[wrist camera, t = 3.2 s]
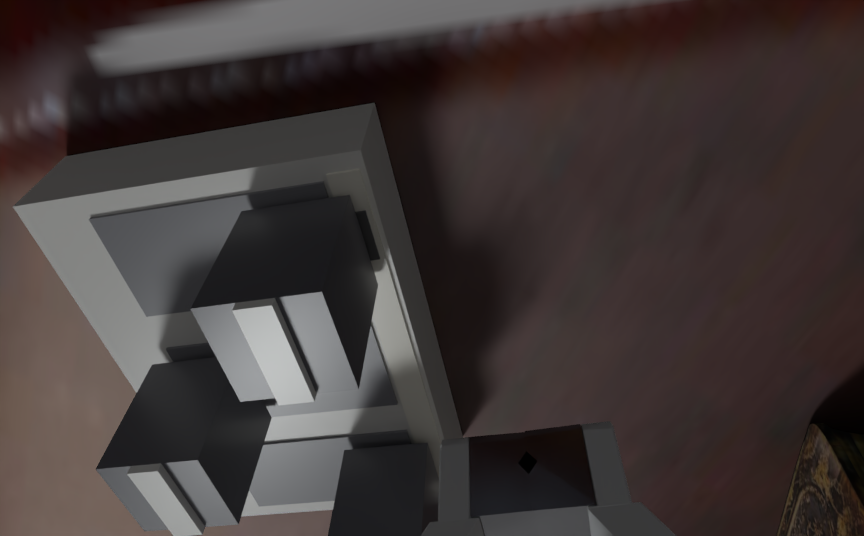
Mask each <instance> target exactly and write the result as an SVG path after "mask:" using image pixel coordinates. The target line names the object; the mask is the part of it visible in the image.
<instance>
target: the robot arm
mask: <svg viewBox="0 0 864 536" xmlns="http://www.w3.org/2000/svg"><path fill="white" fill-rule="evenodd" d="M421 536H676V535H675V534H674V533H673V532H672V531H671V530H670V529H669V528H667V527H666V526H665V525H664V524H663V523H662V522H661V521H660V520H659V519H658V518H657V517H656V516H655V515H654V514H653V513H652V512H651V511H650V510H648V509H647V508H646V507H645V506H644V505H643V504H642V503H641V502H637V503H632V501H631V497H630V493H629V489H628V485H627V481H626V477H625V473H624V469H623V464H622V460H621V456H620V452H619V448H618V444H617V440H616V436H615V432H614V428H613V425H612V424H611V422H610V421H609V422H600V423H591V424H582V425H580V424H577V425H569V426H561V427H553V428H546V429H538V430H530V431H525V432H521V433H509V434H498V435H486V436H475V437H465V438H456V439H446V440H442V442H441V446H440V461H439V499H438V521H436V522H430V523H429V524H428V526H427V527H426V529H425V530H424V532H423V533H422V535H421Z"/></svg>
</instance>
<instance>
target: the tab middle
mask: <svg viewBox="0 0 864 536" xmlns="http://www.w3.org/2000/svg"><path fill="white" fill-rule="evenodd" d="M271 418H272V417H271V415H270V413H269V411H268V409H267V408H266V406H265V404H264V402H263V400H253V401H244V402H240V400H239V398H238V396H237V395H236V393H235V391H234V389H233V387H232V385H231V383H230V382H229V380H228V378H227V376H226V374H225V372H224V370H223V369H222V367H221V365H220V363H219V361H218V359H217V357H213V358H204V359H196V360H187V361H178V362H170V363H161V364H153V365H152V366H151V368H150V369H149V371H148V373H147V375H146V377H145V379H144V380H143V382H142V384H141V386H140V388H139V390H138V392H137V393H136V395H135V397H134V399H133V401H132V403H131V405H130V406H129V408H128V410H127V412H126V414H125V416H124V418H123V419H122V421H121V423H120V425H119V427H118V429H117V431H116V432H115V434H114V436H113V438H112V440H111V442H110V444H109V445H108V447H107V449H106V451H105V453H104V455H103V457H102V458H101V460H100V462H99V464H98V466H97V468H96V470H97V472H98V473H99V474H100V475H101V477H102V478H103V479H104V480H105V482H106V483H107V484H108V485H109V487H110V488H111V489H112V491H113V492H114V493H115V494H116V496H117V497H118V498H119V499H120V501H121V502H122V503H123V504H124V506H125V507H126V508H127V509H128V511H129V512H130V513H131V515H132V516H133V517H134V518H135V520H136V521H137V522H138V523H139V525H140V526H141V527H142V528H143V530H144V531H155V530H168V529H169V531H170V532H171V533H172V535H173V536H190V535H202V534H203V532H204V529H205V527H209V526H223V525H236V524H239V521H240V518H241V515H242V512H243V508H244V505H245V502H246V499H247V496H248V492H249V489H250V486H251V483H252V479H253V476H254V473H255V470H256V467H257V463H258V460H259V457H260V454H261V450H262V447H263V444H264V441H265V438H266V434H267V431H268V428H269V425H270V422H271Z"/></svg>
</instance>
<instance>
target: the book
mask: <svg viewBox="0 0 864 536" xmlns="http://www.w3.org/2000/svg"><path fill="white" fill-rule="evenodd" d="M777 536H864V434H856V433H849V432H844V431H839V430H835V429H832V428H830V427H829V426H827V425H826V424H824V423H816V424H810V426H809V428H808V430H807V434H806V437H805V440H804V443H803V446H802V449H801V452H800V455H799V458H798V461H797V464H796V467H795V470H794V474H793V478H792V481H791V485H790V488H789V492H788V496H787V499H786V503H785V507H784V510H783V514H782V518H781V521H780V525H779V528H778V532H777Z"/></svg>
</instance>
